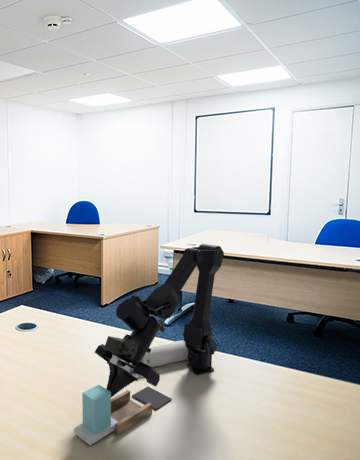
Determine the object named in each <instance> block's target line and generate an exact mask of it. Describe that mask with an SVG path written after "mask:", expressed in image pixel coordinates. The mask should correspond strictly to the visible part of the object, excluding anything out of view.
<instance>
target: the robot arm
mask: <svg viewBox="0 0 360 460" xmlns="http://www.w3.org/2000/svg"><path fill="white" fill-rule="evenodd" d="M224 252H225V251H224V250H223V248H222V247H221V246H220V245H215V244H213V245H212V244H207V243H201V244H199V245H198V246H192V247H187V248H185V249H184V250H183V254H182V256H181V257H180V259H179V261H178V262H177V264H176V266H174V268H173V269H172V271H171V273H170V274H169V276H168V277H167V279H166V280H165V282H163V284H162V285H160V286H157V288H155V289H154V290H153V291H151V293H150V294H149V295H148V296H147V298H145V299H143V300H142V299H141V298H140V296H138V295H135V294H132V295H131V296H130V298H126V299H124V300H123V301H121V302H120V303H119V304H118V305H117V308H116V310H115V315H116V317H117V318H118V319H119V320H120V321H121V322H122V323H123V324H124V325H125V326H126V327H128V328H129V329H131V330H132V332H130V334H125V335H124V337H123V338H122V337H121V338H120V337H116V336H110V335H108V336H107V339H106V342H105V344H100V345H97V347H96V349H95V351H94V354H96V355H97V356H99V357H100V358H101V359H103V360H104V361H106V364H107V365H108V366H109V367H108V368H109V375H108V376H109V377H108V381H107V385H106V388H105V389H107V390H108V391H110V392H111V398H114V396H115V395H117V394H118V393H120V391H121V390H124V388H126V387H127V386H129V385H130V384H132V383H134V382H139V378H138V377H139V376H140V377H142V378H144V379H145V381H146V383H148V384H150V385H152V386H154V387H155V388H156V387H157V386H158V384H159V383H160V381H161V379H160V378H161V375H160V373H159V372H158V371H157V370H155V369H154V367H151V366H148V365H146V364H144V363H142V362H141V361H142V359H143V357H144V355H145V354H146V352H147V353H150V351H151V349H150V348H149V347H150V346H152V343H153V341H154V340H155V337H156V336H157V334H158V332H161V333H164V332H165V327H164V321H162V320H159V319H157V318H160V319H163V320H168V319H171V317H173V315H174V313H175V310H176V309H177V307H178V305H179V295H180V292H181V291H182V290H183V288H184V287H185V285H186V283H187V282H188V280H189V278H190V277H191V275H192V273H193V272H194V270H195V269H196V267H197V270H198V277H197V285H196V290H195V296H194V305H193V311H192V318H191V319H190V320H189V321H188V322H185V323H184V325H183V326H184V327H183V328H184V329H183V334H182V336H183V340H184V341H185V345H186V348H189V349H190V354H189V359H188V363H187V367H188V368H189V369H190V370H191V371H192V372H193V373H194V374H195V375H201V374H205V373H209V372H213V371H215V368H214V367H213V365H212V363H213V362H212V360H213V355H215V352H217V348H218V344H217V342H216V341H215V340H214V339H213V337H212V336H213V335H212V334H213V329H212V326H211V324H210V321H209V317H210V311H211V309H210V308H211V303H212V296H213V289H214V282H215V275H216V273H217V272H218V271H219V269H220V268H221V267H222V264H223V259H224V256H225V253H224Z"/></svg>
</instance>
